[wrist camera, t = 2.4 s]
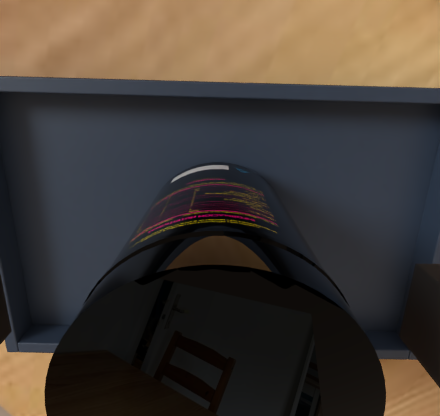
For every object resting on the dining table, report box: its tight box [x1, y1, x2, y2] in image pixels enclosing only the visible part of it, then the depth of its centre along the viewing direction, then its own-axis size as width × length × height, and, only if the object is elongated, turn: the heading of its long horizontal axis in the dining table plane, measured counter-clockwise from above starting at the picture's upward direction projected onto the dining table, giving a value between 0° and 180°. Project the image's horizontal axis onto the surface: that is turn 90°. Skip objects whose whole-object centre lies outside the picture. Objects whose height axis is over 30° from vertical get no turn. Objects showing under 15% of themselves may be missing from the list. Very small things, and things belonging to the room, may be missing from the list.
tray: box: [0, 76, 440, 360], centre depth 16 cm, size 21×13×2 cm, turn 89°
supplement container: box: [45, 162, 386, 416], centre depth 12 cm, size 7×7×10 cm
